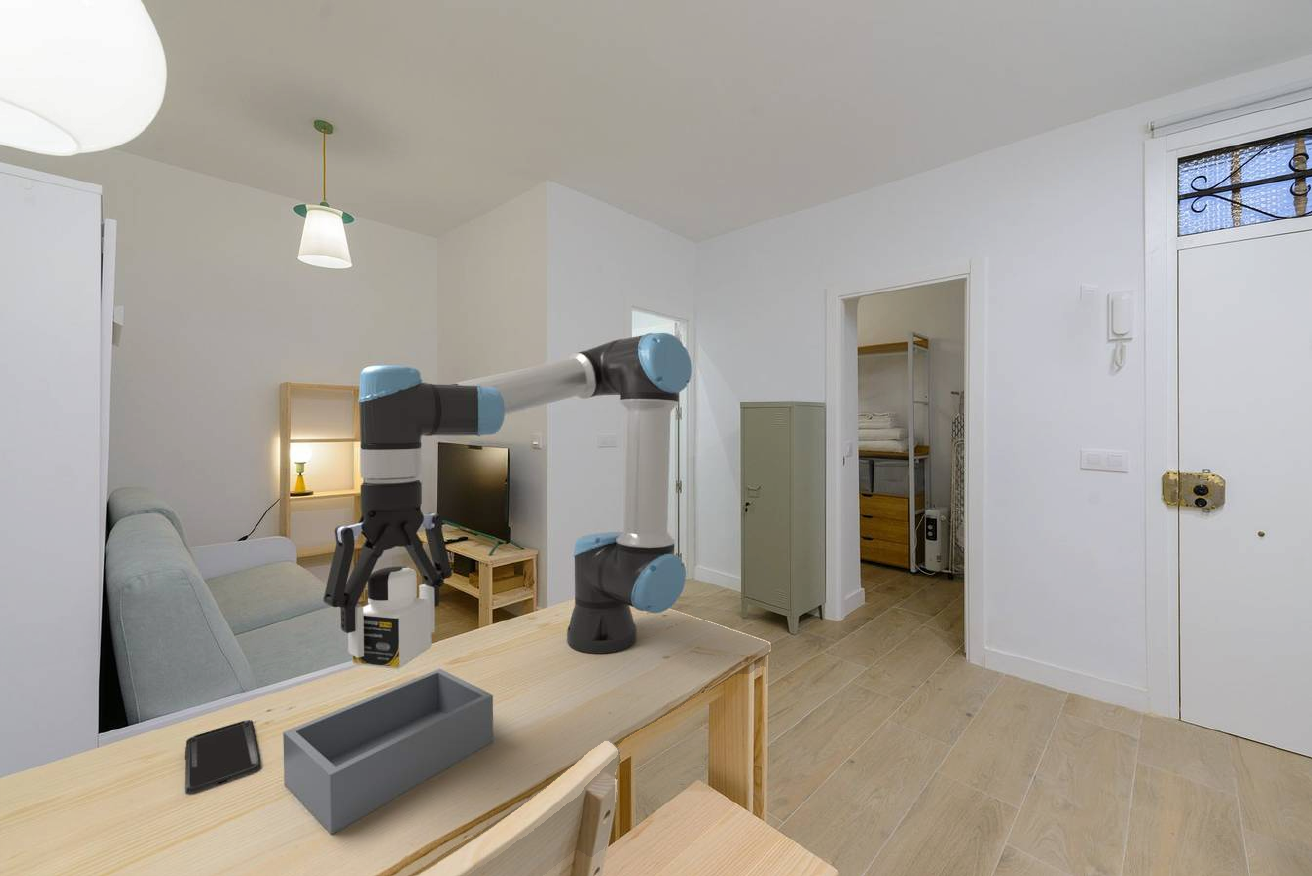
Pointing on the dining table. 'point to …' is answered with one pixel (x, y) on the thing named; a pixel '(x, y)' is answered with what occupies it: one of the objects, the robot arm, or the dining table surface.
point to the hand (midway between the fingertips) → (393, 641)
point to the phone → (221, 756)
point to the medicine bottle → (394, 619)
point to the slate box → (384, 746)
